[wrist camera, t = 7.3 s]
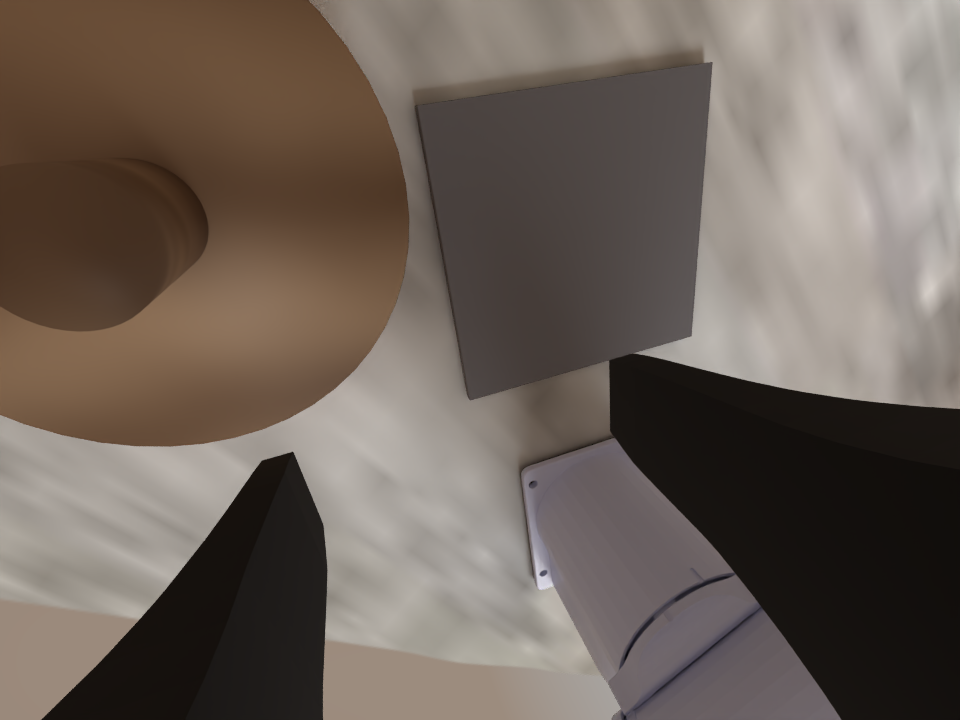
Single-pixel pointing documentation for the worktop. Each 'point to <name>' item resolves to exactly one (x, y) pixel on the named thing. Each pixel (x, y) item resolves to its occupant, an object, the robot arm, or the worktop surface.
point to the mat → (568, 220)
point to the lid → (187, 216)
